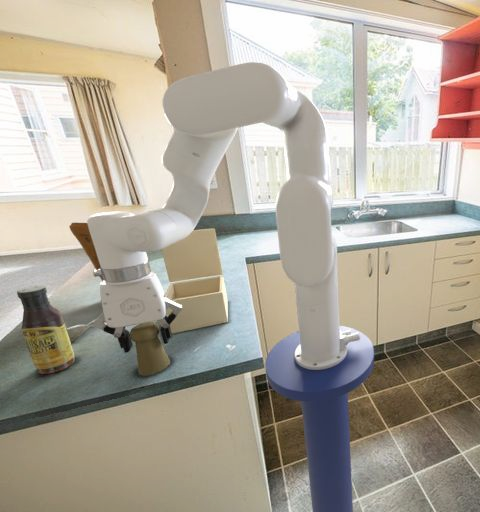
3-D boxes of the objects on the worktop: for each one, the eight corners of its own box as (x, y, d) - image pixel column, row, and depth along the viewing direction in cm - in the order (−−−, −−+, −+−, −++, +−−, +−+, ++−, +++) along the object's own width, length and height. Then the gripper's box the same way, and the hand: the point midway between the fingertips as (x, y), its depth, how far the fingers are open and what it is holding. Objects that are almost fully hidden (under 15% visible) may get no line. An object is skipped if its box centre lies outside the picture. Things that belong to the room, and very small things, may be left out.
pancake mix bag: (137, 309, 95) (113, 224, 87) (92, 303, 99) (64, 221, 91) (157, 300, 102) (136, 220, 93) (113, 295, 105) (89, 217, 97)
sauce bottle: (29, 378, 65) (-7, 296, 59) (52, 360, 71) (21, 284, 65) (66, 373, 67) (34, 293, 61) (85, 356, 73) (57, 281, 66)
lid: (214, 228, 92) (215, 225, 96) (157, 233, 86) (160, 230, 90) (222, 274, 97) (223, 269, 101) (169, 282, 91) (172, 276, 95)
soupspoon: (46, 346, 77) (66, 350, 76) (41, 336, 76) (62, 339, 75) (128, 305, 98) (145, 308, 97) (126, 296, 96) (143, 298, 95)
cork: (143, 379, 65) (130, 336, 62) (134, 368, 68) (121, 326, 65) (174, 364, 70) (163, 324, 66) (165, 355, 73) (154, 315, 70)
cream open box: (227, 322, 88) (222, 292, 85) (168, 334, 82) (160, 302, 79) (227, 302, 100) (223, 275, 97) (176, 311, 94) (169, 283, 91)
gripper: (63, 285, 55) (92, 366, 60) (174, 270, 62) (191, 343, 68) (80, 272, 61) (105, 346, 67) (179, 260, 69) (194, 328, 74)
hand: (148, 344), depth 67 cm, fingers open, 6 cm apart
